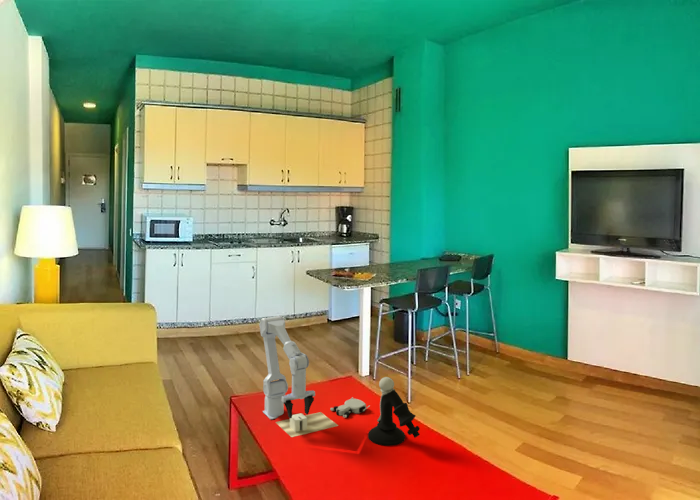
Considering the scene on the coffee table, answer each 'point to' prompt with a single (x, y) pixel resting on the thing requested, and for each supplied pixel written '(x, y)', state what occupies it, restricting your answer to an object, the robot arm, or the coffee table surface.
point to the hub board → (308, 424)
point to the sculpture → (386, 428)
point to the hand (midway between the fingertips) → (298, 415)
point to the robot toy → (350, 407)
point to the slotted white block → (298, 422)
